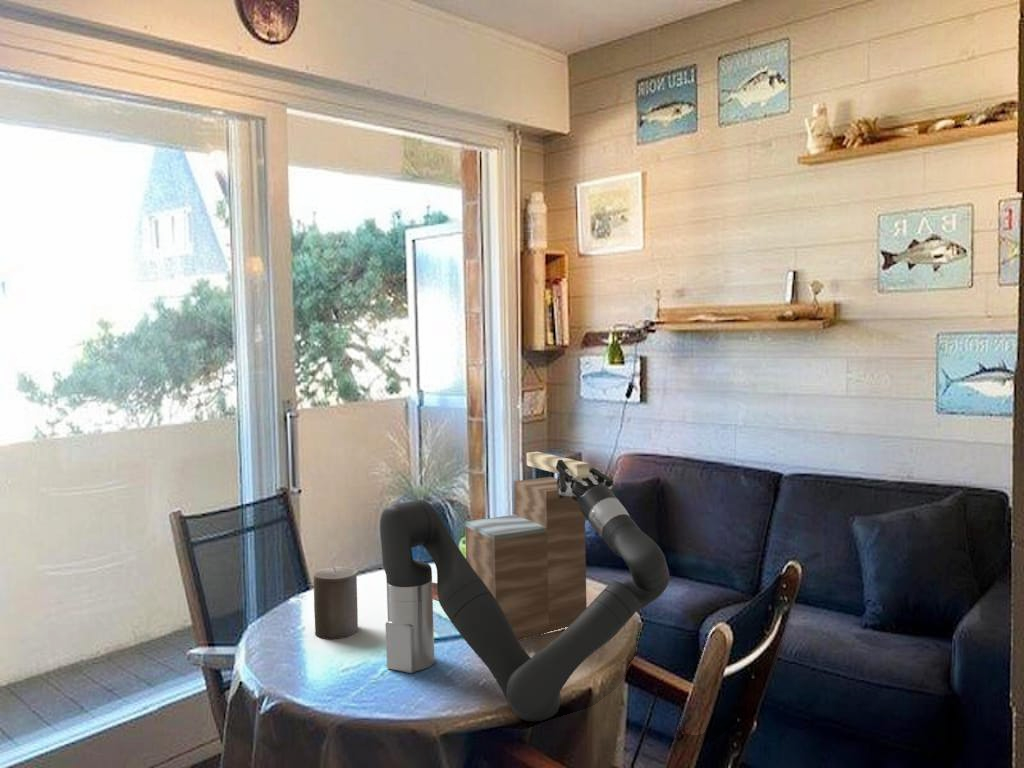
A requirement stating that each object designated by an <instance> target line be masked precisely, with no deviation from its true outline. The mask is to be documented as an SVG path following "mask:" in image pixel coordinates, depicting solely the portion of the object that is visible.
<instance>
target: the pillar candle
mask: <svg viewBox="0 0 1024 768" xmlns="http://www.w3.org/2000/svg"><path fill="white" fill-rule="evenodd" d="M357 573H358V571H357V570H356V569H354V568H352V567H346V566H345V567H344V566H333V567H327V568H322V569H319V570H317V571H315V572H314V573H313V601H314V602H313V606H314V607H313V608H314V609H313V611H314V635H315V636H316V637H319V638H321V639H324V638H328V639H327V640H333V639H335V640H336V639H337V640H338V639H343V638H348V637H351V636H354V635H355V634H356V633H357V632H358V630H359V624H358V623H359V621H358V616H359V615H358V587H357V586H358V582H357V581H358V577H357Z"/></svg>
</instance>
